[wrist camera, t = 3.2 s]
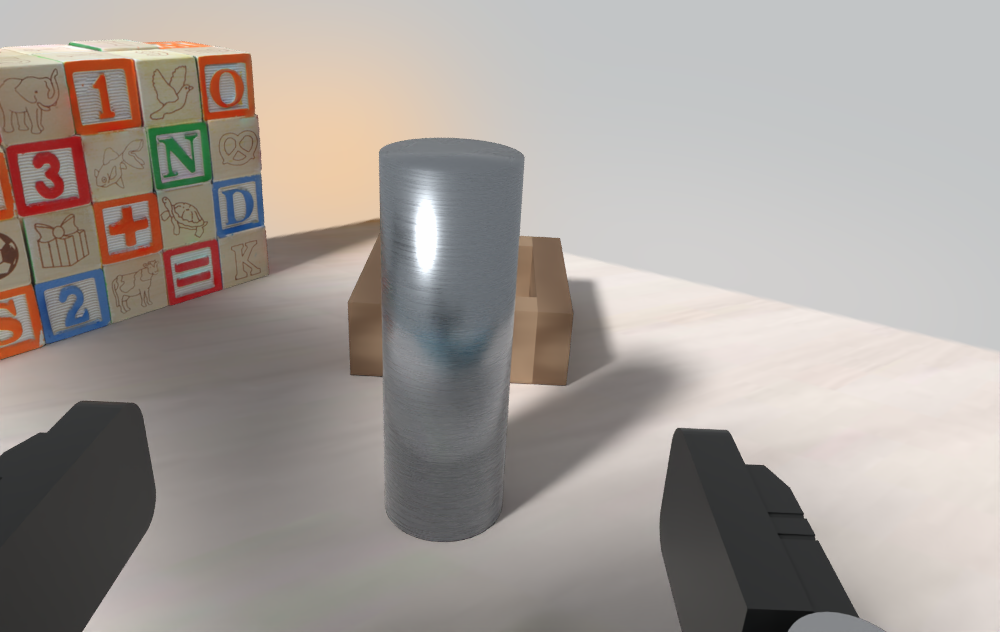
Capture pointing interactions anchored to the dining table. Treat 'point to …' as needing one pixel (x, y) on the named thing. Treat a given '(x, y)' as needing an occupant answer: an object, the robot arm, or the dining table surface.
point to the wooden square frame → (536, 315)
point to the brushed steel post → (447, 329)
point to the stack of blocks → (123, 183)
